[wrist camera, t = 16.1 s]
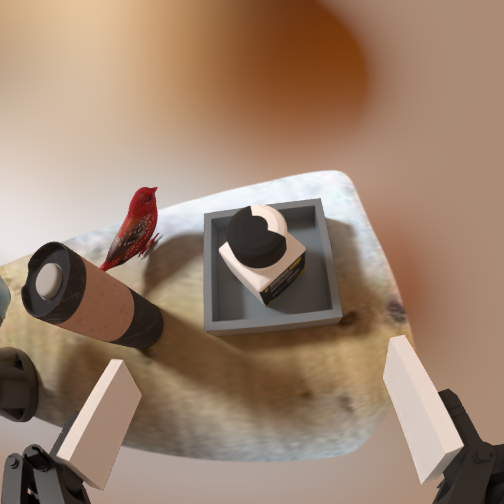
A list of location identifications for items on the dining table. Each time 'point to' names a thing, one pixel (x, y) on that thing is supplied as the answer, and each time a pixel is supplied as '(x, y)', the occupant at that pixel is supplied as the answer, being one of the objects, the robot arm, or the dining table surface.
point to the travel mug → (87, 299)
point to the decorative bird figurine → (134, 229)
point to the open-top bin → (292, 298)
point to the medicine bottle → (262, 252)
